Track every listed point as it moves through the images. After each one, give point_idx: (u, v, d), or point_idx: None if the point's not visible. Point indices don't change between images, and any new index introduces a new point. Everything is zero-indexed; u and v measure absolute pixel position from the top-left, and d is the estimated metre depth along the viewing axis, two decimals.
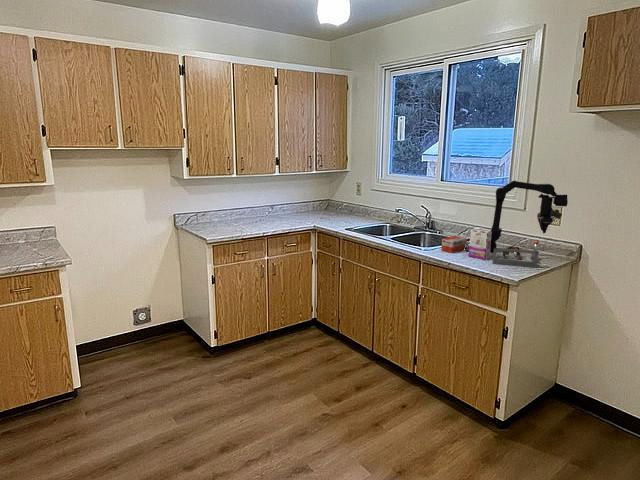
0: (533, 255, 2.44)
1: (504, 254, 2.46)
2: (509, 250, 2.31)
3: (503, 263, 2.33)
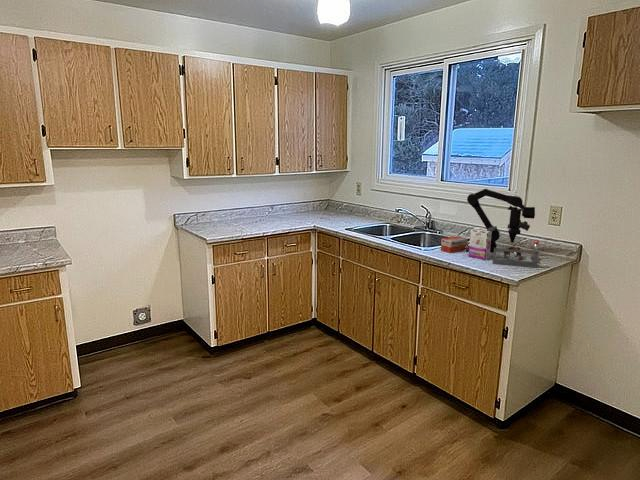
0: (533, 255, 2.44)
1: (505, 254, 2.45)
2: (509, 250, 2.31)
3: (503, 263, 2.33)
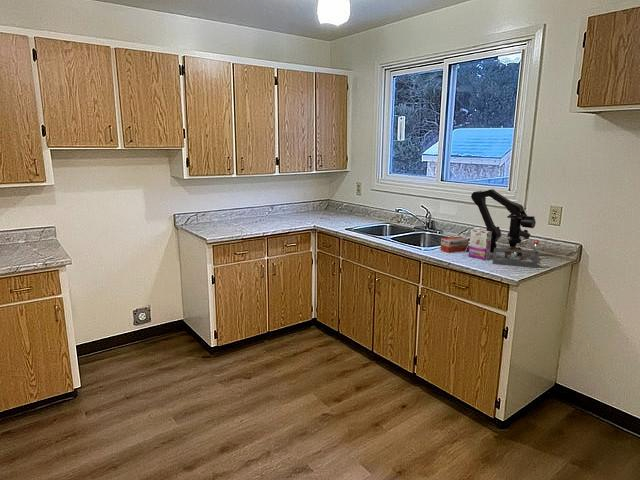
0: (533, 255, 2.44)
1: (506, 255, 2.44)
2: (509, 250, 2.31)
3: (503, 263, 2.33)
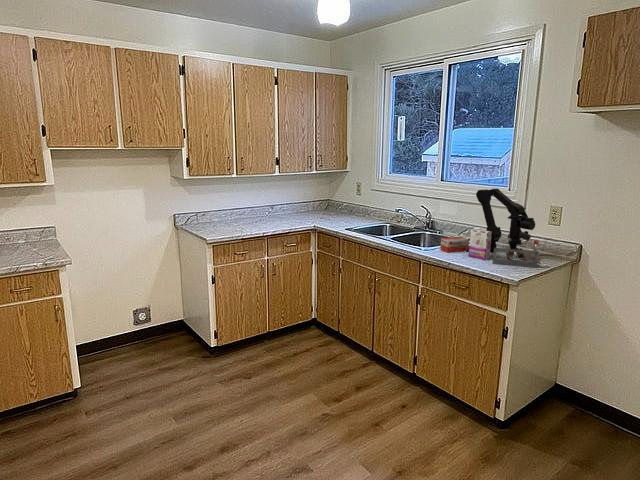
0: (533, 255, 2.44)
1: (508, 256, 2.41)
2: (509, 250, 2.31)
3: (503, 263, 2.33)
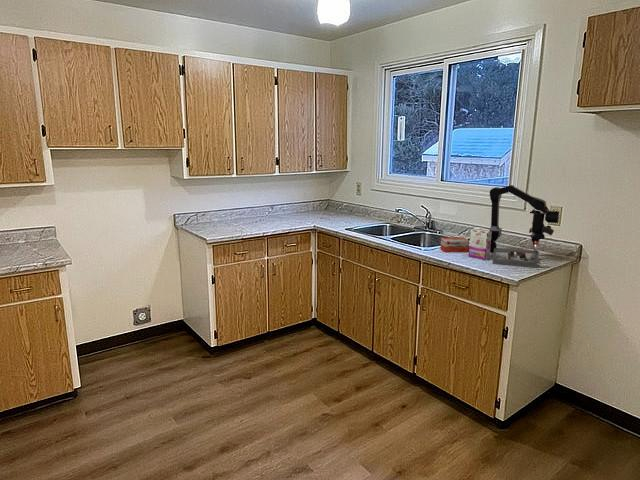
0: (533, 255, 2.43)
1: (510, 257, 2.40)
2: (509, 250, 2.31)
3: (503, 263, 2.33)
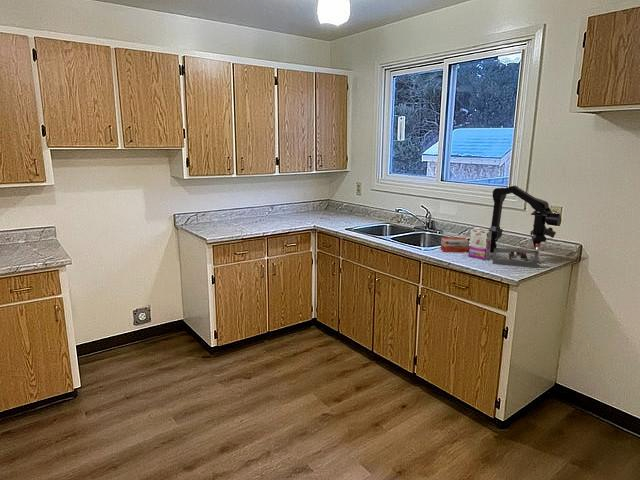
0: (534, 258, 2.37)
1: (511, 257, 2.39)
2: (509, 250, 2.31)
3: (503, 263, 2.33)
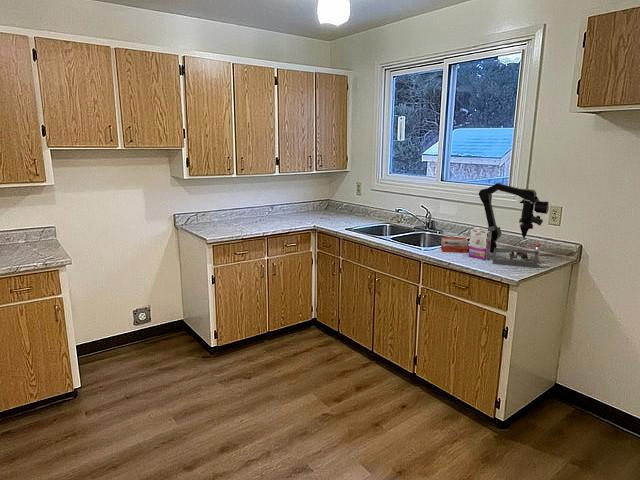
0: (534, 258, 2.37)
1: (512, 257, 2.38)
2: (509, 250, 2.31)
3: (503, 263, 2.33)
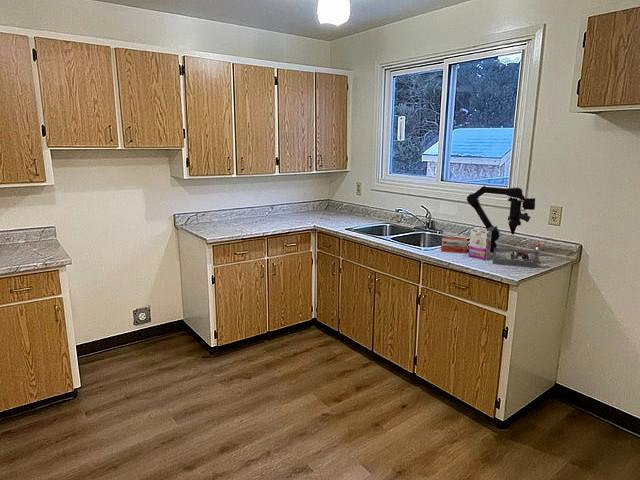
0: (534, 258, 2.37)
1: (513, 258, 2.38)
2: (509, 250, 2.31)
3: (503, 263, 2.33)
